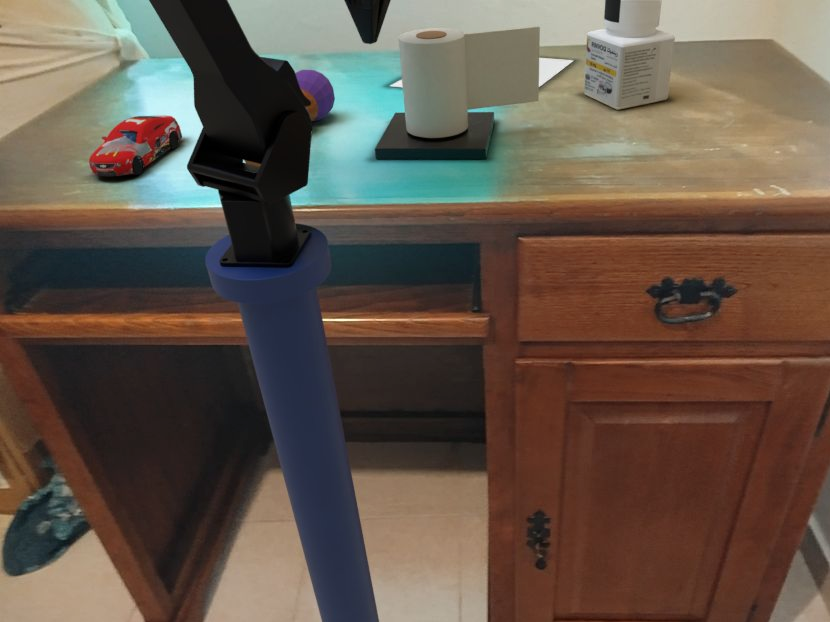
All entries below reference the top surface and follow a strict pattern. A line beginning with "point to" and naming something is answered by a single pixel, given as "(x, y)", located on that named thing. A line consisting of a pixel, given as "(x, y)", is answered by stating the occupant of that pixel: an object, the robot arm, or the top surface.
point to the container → (629, 55)
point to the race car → (135, 145)
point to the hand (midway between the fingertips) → (369, 42)
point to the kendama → (314, 95)
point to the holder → (437, 141)
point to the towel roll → (464, 75)
